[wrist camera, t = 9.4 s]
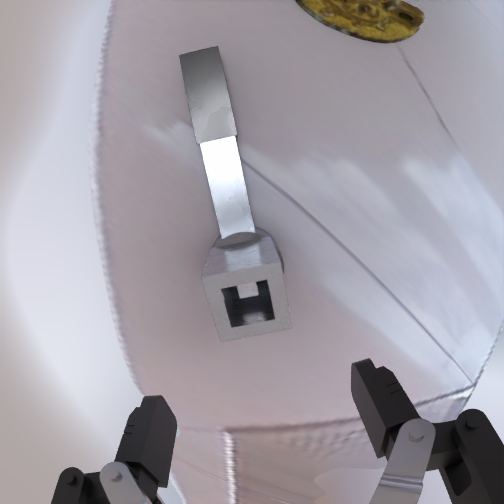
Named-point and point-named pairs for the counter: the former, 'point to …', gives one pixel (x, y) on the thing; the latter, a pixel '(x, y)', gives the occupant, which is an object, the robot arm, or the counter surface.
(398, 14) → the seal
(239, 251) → the hollow square tube
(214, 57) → the ratchet
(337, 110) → the counter surface
